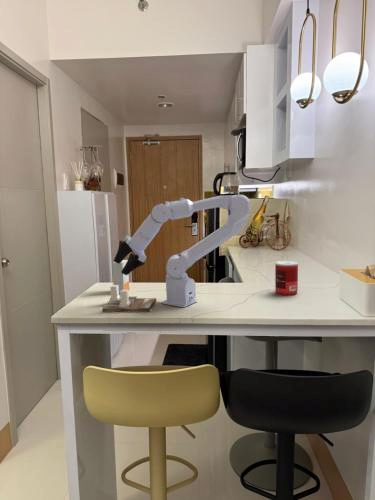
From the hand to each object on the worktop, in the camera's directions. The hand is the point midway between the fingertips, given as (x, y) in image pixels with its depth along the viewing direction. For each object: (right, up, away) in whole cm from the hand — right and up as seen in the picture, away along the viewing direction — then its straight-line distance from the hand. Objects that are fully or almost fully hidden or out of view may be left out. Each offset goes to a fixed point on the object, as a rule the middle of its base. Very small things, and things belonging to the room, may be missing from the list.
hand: (120, 267), depth 122 cm
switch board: (+4, -13, -1) cm, 13 cm away
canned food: (+58, -10, +10) cm, 59 cm away
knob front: (+2, -12, -4) cm, 13 cm away
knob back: (-2, -11, +3) cm, 11 cm away
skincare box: (-3, -10, +18) cm, 21 cm away
